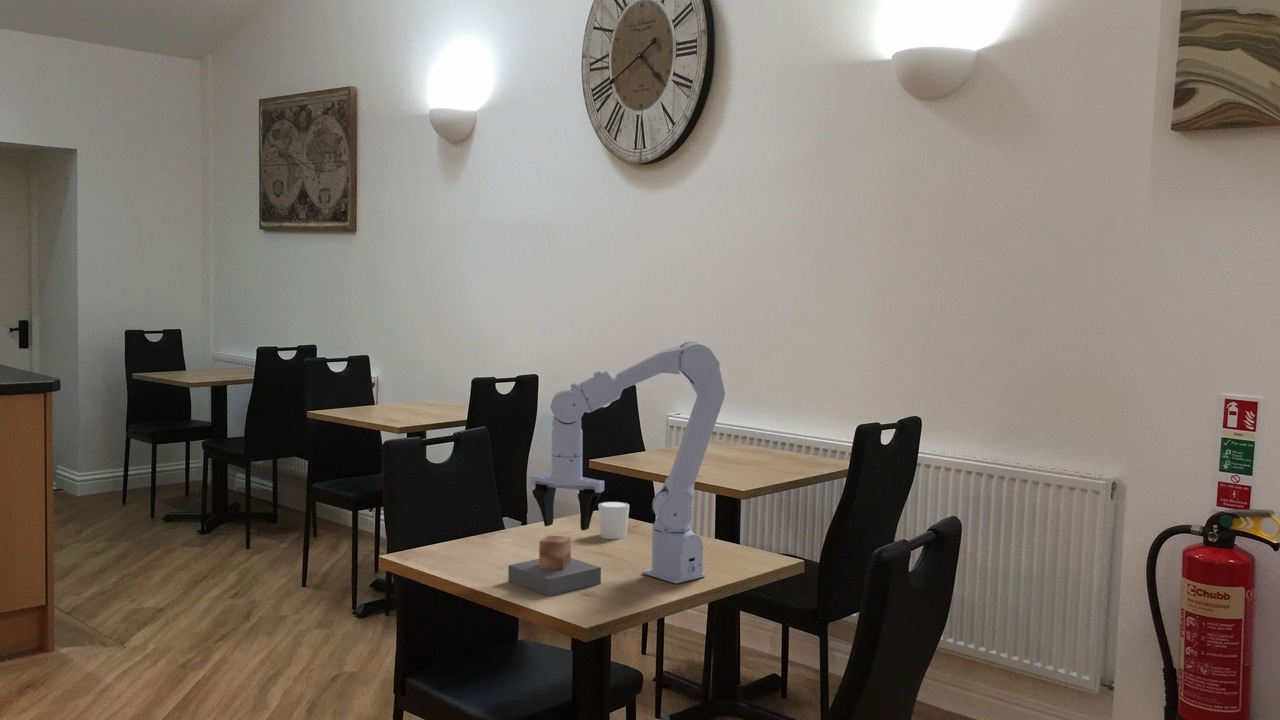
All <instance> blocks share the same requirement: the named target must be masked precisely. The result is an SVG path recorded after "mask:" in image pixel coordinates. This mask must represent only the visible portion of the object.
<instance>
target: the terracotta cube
mask: <svg viewBox="0 0 1280 720" xmlns="http://www.w3.org/2000/svg"><path fill="white" fill-rule="evenodd" d="M571 543H572V537H571V536H560V535H549V534H547V535H546V536H545V537H543V538H542V539H540V540H539V554H538V555H539V556H538V559H539V568H543V569H555V570H564V569H565V568H566V567H567V566H568V565H570V564H571V558H572V557H571V554H572V553H571V551H572V549H571V547H572V546H571Z"/></svg>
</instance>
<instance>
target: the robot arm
mask: <svg viewBox="0 0 1280 720" xmlns="http://www.w3.org/2000/svg"><path fill="white" fill-rule="evenodd" d="M720 368H721V366H720V362H719V360H718V358H717V357H716V356H715V354H714V352H713V351H712V350H711V348H710V347H708V346H707V345H705V344H701V343H698V342H695V341H685V342H684V343H682V344H680V345H679V346H678V345H677V346H673V347H672V346H671V347H669V348H666V349H664V350H661V351H659V352H657V353H654V354H653V355H650V356H648V357H646V358H644V359H643V360H641V361H639V362H636V363H635V364H633V365H631V366H629V367H627V368H625V369H623V370H621V371H619V372H617V373H613V372H611V371H608V370H605V371H604V372H601V371H600V370H598V371H595V372H593V376H592V377H590V378H588V379H586V380H584V381H582V382H579V383H577V384H576V382H574V383H571V384H570V386H569V387H570V389H563V390H559V391H558V392H556V394H554V396H553V397H552V398H551V399H552V400H551V403H550V409H551V412H552V414H553V418H552V421H551V424H552V425H551V426H552V430H551V474H533V475H530V477H529V479H530V480H529V481H530V482H529V483H530V487H534V489H532V491H531V492H532V496H533V497H534V498H535V501H536V502H537V504H538V507H539V509H540V513H541V516H542V517H541V518H542V520H543V524H544V527H549V526H552V525H553V524H554V504H555V502H554V501H555V496H556V491H557V489H566V490H577V491H581V492H579V493H577V498H578V503H579V511H580V521H579V522H580V531H586V530H589V529H590V525H591V520H592V517H593V513H594V510H595V508H596V505H598V504H597V503H598V501H599V499H600V498H601V496H602V493H603V492H604V491H605V480H600V479H595V478H589V477H585V476H583V433H584V432H583V429H582V417H583V416H584V413H589V414H590V413H592V412H594V411H596V410H598V409H601V408H602V407H604V406H605V407H606V406H607V405H609V404H611V403H613V402H615V401H617V400H619V399H620V398H621V396H622V392H624V390H625V389H628V388H629V387H632V386H635V385H636V384H639V383H641V382H644V381H646V380H649V379H651V378H653V377H655V376H658V375H660V374H672V375H680V373H681V374H682V375H683V376H685V378H687V379H688V381H689V383H690V385H691V387H692V389H693V390H694V392H695V394H696V398H695V401H694V404H693V406H692V409H691V412H690V415H689V419H688V422H687V423H686V427H685V430H684V433H683V436H682V438H681V441H680V445H679V446H678V450H677V453H676V457H675V458H674V462H673V465H672V467H671V470H670V472H669V475H668V476H667V477H666V478H665V480H664V483H663V485H662V487H661V489H660V490H659V491H658V492H657V493H656V494H655V496H654V497H653V500H652V504H651V505H652V511H653V512H654V515H656V519H655V521H654V522H653V524H652V531H651V534H652V535H651V536H652V537H651V540H652V541H651V568H647V569H644V570H643V569H642V570H641V574H644V575H648V576H650V577H653V578H657V579H660V580H663V581H667V582H669V583H673V584H680V583H683V582H688V581H692V580H696V579H700V578H704V577H706V573H704V572H703V569H704V568H703V563H704V562H703V561H704V559H703V558H704V557H703V554H704V545H703V540H702V538H701V536H700V535H698V534H697V533H694V532H693V531H692V529H691V524H690V522H691V521H692V517H693V511H692V502H693V498H694V495H695V494H694V493H695V492H694V491H695V484H696V481H697V477H698V474H699V472H700V469H701V466H702V463H703V461H704V460H703V459H704V458H705V456H706V455H705V454H706V451H707V448H708V446H709V443H710V440H711V436H712V434H713V431H714V428H715V426H716V423H717V419H718V417H719V414H720V411H721V408H722V407H723V402H724V400H725V397H726V390H725V387H724V382H723V378H722V374H721V369H720Z"/></svg>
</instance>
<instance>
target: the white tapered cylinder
mask: <svg viewBox="0 0 1280 720" xmlns="http://www.w3.org/2000/svg"><path fill="white" fill-rule="evenodd" d="M597 507H598V519H599V521H598V522H599V532H600V537H601V538H603V539H607V540H619V539H625V538H627V532H628V522H629V513H630V504H629V503H627V502H622V501H604V502H600V503H598V504H597Z"/></svg>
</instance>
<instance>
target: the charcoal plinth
mask: <svg viewBox="0 0 1280 720" xmlns="http://www.w3.org/2000/svg"><path fill="white" fill-rule="evenodd" d="M507 567H508V568H507V570H508V577H507V578H508V579H507V581H508V583H509V582H510V583H512V584H515V585H517V586H519V587H522V588H526V589H529V590H530V591H534V592H537V593H539V594H542V595H545V596H548V597H551V596H555V595H558V594H563V593H567V592H572V591H576V590H579V589H584V588H588V587H592V586H597V585H601V584H602V577H601V576H602V567H601V566H597V565H594V564H592V563H589V562H585V561H582V560H578V559H575V558H572V557H571V564H570V565H568V566H567V567H566V568H565V569H564V570H555V569H543V568H539V558H537V559H531V560H527V561H526V560H525V561H522V562H518V563H512V564H508V566H507Z"/></svg>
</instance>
